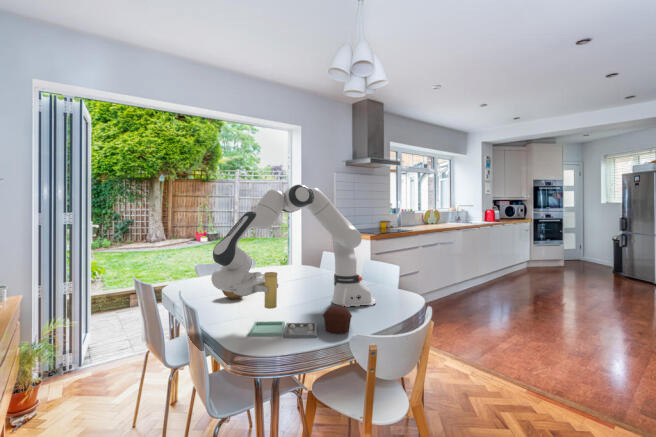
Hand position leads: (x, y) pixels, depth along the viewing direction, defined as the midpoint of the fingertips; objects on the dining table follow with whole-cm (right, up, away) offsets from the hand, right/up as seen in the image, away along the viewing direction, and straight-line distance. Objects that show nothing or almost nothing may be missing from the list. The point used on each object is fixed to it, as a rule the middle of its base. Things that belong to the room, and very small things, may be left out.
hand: (272, 287), depth 124 cm
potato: (-28, -16, +47) cm, 57 cm away
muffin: (+25, -18, +2) cm, 31 cm away
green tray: (-2, -17, +1) cm, 18 cm away
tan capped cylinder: (-1, -7, +1) cm, 8 cm away
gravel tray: (+11, -18, 0) cm, 21 cm away
